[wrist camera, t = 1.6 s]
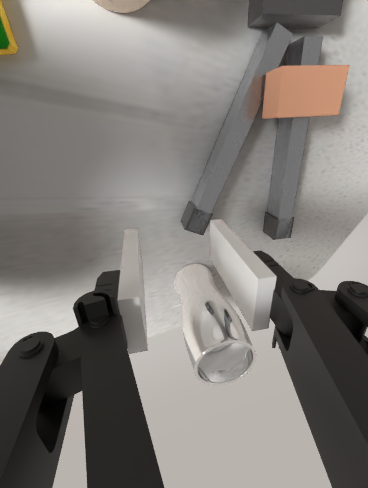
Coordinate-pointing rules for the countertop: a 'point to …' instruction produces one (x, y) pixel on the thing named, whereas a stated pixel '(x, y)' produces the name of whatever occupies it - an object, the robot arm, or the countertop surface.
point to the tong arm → (236, 127)
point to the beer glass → (212, 329)
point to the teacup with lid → (122, 5)
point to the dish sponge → (6, 35)
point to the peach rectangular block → (304, 91)
